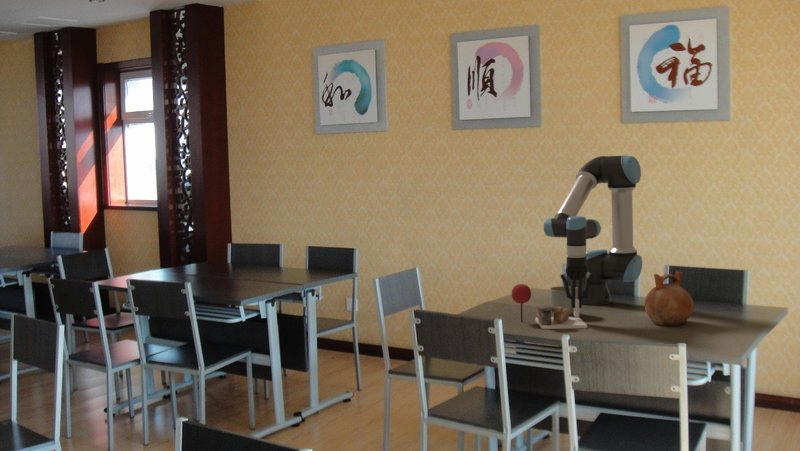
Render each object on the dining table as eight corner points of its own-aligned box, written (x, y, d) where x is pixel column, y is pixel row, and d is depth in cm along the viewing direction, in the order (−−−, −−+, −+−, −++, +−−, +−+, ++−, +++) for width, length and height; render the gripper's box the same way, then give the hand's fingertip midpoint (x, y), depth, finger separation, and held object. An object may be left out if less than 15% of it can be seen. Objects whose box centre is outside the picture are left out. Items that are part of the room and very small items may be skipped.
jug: (668, 330, 304) (669, 276, 302) (633, 321, 320) (634, 271, 318) (704, 324, 313) (704, 272, 311) (668, 316, 329) (669, 267, 327)
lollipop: (532, 320, 327) (532, 283, 325) (529, 324, 320) (529, 286, 318) (513, 319, 329) (513, 282, 328) (510, 323, 322) (509, 285, 321)
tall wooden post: (545, 320, 325) (545, 304, 325) (552, 328, 311) (552, 311, 310) (536, 320, 325) (536, 304, 325) (542, 328, 311) (542, 311, 310)
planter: (586, 314, 337) (586, 288, 336) (570, 319, 328) (570, 292, 327) (560, 310, 345) (560, 285, 344) (544, 315, 336) (544, 289, 335)
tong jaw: (569, 318, 321) (569, 302, 321) (557, 326, 308) (557, 309, 307) (550, 316, 325) (550, 301, 324) (538, 324, 311) (538, 308, 311)
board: (578, 319, 326) (578, 316, 326) (587, 328, 310) (587, 325, 310) (535, 320, 326) (535, 317, 326) (542, 329, 310) (542, 325, 310)
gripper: (590, 254, 322) (590, 313, 324) (557, 255, 322) (557, 314, 324) (595, 257, 314) (595, 317, 316) (561, 257, 314) (561, 318, 316)
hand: (576, 315), depth 320 cm, fingers closed
